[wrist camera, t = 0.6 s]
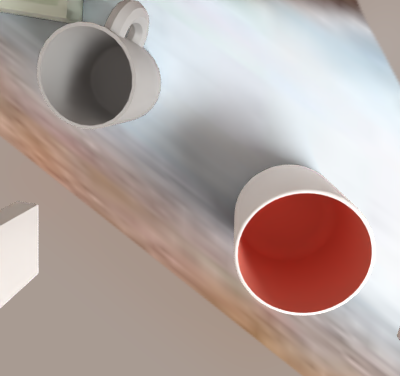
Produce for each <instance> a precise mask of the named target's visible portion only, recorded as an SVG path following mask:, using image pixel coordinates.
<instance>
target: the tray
mask: <svg viewBox="0 0 400 376" xmlns="http://www.w3.org/2000/svg"><path fill="white" fill-rule="evenodd" d="M0 12H3V13H9V14H15V15H21V16H28V17H34V18H40V19H46V20H52V21H58V22H64V23H75V22H82V13H83V0H0Z"/></svg>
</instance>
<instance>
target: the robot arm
mask: <svg viewBox="0 0 400 376" xmlns="http://www.w3.org/2000/svg"><path fill="white" fill-rule="evenodd" d="M38 272H39V270H38V204H33V203H27V202H20V201H17V202H15V203H13V204H11V205H9V206H7V207H5V208H3V209H1V210H0V308H1V307H2V306H3V305H4V304H5V303H6V302H8V301H9V300H10V299H11V298H12V297H13V296H14V295H15V294H16V293H17V292H19V291H20V290H21V289H22V288H23V287H24V286H25V285H26V284H27V283H28V282H30V281H31V280H32V279H33V278H34V277H35V276H36V275H37V274H38ZM397 337H398V338H399V340H400V328H399V331H398V334H397Z"/></svg>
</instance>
